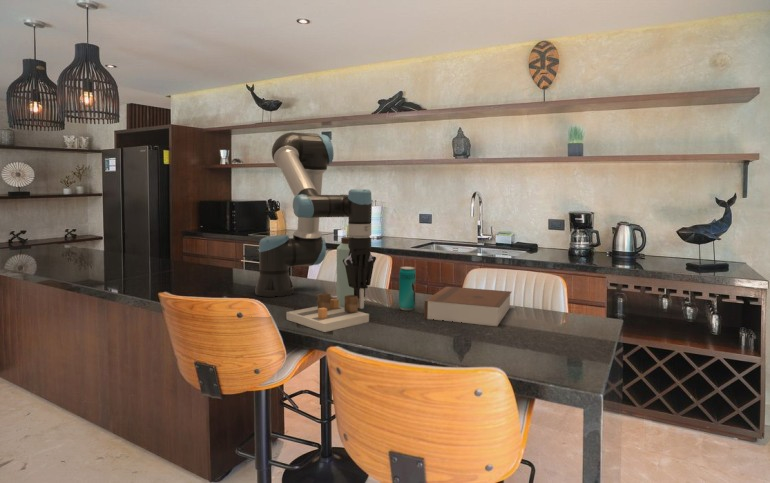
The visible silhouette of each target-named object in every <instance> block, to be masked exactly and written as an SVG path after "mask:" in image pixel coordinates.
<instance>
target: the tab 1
mask: <svg viewBox="0 0 770 483" xmlns="http://www.w3.org/2000/svg"><path fill="white" fill-rule="evenodd" d="M330 299H331V294H330V293H327V292H323V293H318V294H317V306H318V308H327V310H330Z"/></svg>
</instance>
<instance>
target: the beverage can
mask: <svg viewBox="0 0 770 483" xmlns="http://www.w3.org/2000/svg"><path fill="white" fill-rule="evenodd" d="M399 268H400V269H399V272H398V274H399V275H398V281H399V282H398V285H399V286H398V289H399V290H398V306H399V309H400V310H402V311H406V312H408V311H409V312H410V311H413V310H414V308H415V306H416V277H417V276H416V267H413V266H400V267H399Z"/></svg>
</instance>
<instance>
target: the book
mask: <svg viewBox="0 0 770 483" xmlns="http://www.w3.org/2000/svg"><path fill="white" fill-rule="evenodd" d="M511 294H512V291H508V290H495V289H481V288H470V287H458V286H444V288H442V289H441V290H439V291H437V292H436V293H434V294H433V295H431V296H430V297H428V298H427V299H425V300H424V309H423V310H424V311H423V312H424V313H423V314H424V315H423V319H424V320H433V319H434V321H435V320H436V321H442V320H444V321H445V322H452V321H453V322H454V323H461V322H462V324H463V323H464V324H472V325H473V324H474V325H480V326H481V325H482V326H483V325H484V326H490V327H491V326H492V327H498V326H499V324H500V323H501V321H502V320H503V318H504V317H505V316H506V314H507V313H508V311H510V307H511V306H510V304H511ZM444 321H443V322H444ZM453 322H452V323H453Z"/></svg>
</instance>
